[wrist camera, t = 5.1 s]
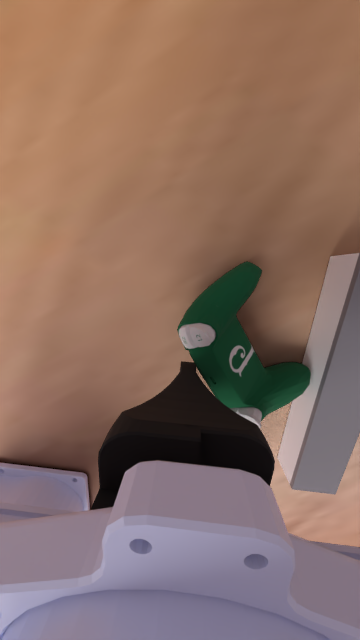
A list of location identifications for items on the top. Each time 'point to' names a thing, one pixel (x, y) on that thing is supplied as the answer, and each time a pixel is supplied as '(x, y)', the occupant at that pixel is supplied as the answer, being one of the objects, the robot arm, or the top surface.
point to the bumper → (328, 386)
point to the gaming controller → (237, 350)
